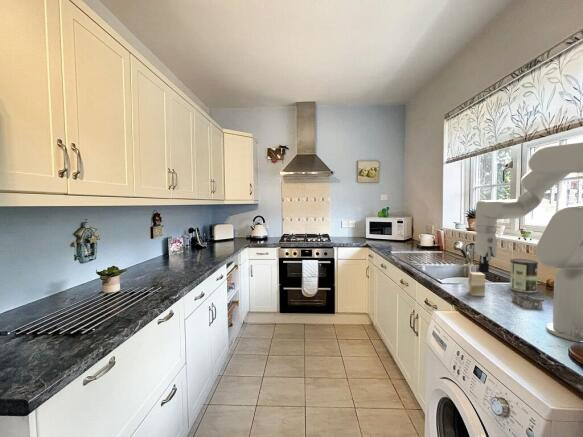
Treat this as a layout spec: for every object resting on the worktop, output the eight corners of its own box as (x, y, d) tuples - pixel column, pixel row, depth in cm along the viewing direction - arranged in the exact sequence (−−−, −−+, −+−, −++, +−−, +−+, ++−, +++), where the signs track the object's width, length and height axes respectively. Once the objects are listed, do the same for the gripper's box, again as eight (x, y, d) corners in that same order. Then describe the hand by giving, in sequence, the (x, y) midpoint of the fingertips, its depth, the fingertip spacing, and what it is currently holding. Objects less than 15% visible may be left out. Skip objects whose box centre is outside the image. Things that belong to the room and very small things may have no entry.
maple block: (484, 296, 129) (485, 274, 128) (472, 295, 130) (472, 274, 130) (480, 293, 134) (480, 272, 133) (468, 292, 135) (468, 271, 135)
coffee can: (534, 288, 140) (535, 259, 140) (539, 294, 132) (540, 263, 131) (508, 285, 146) (509, 257, 145) (510, 290, 137) (511, 261, 136)
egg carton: (545, 310, 113) (546, 300, 113) (523, 309, 114) (524, 299, 114) (528, 301, 123) (529, 291, 123) (509, 300, 125) (509, 290, 125)
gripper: (504, 231, 114) (501, 277, 115) (488, 227, 128) (486, 267, 130) (482, 231, 116) (480, 275, 117) (469, 227, 130) (467, 267, 131)
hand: (483, 271), depth 123 cm, fingers closed
